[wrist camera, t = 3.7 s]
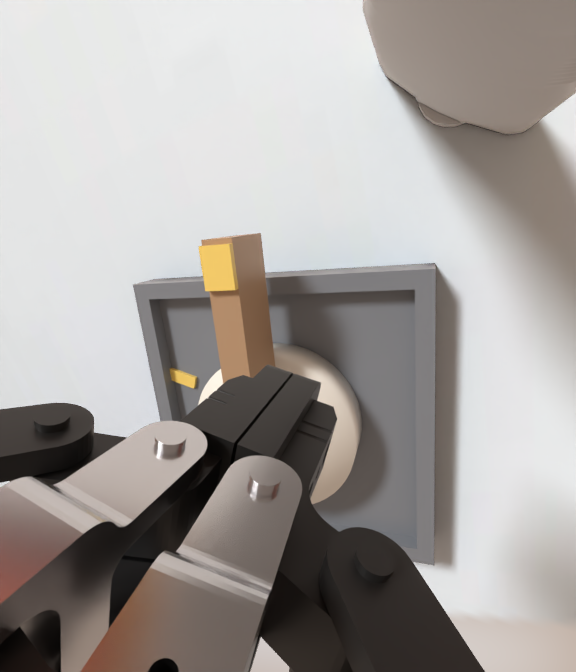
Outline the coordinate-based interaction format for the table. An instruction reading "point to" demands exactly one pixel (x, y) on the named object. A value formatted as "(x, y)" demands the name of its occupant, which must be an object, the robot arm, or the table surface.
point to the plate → (352, 362)
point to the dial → (271, 346)
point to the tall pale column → (478, 57)
